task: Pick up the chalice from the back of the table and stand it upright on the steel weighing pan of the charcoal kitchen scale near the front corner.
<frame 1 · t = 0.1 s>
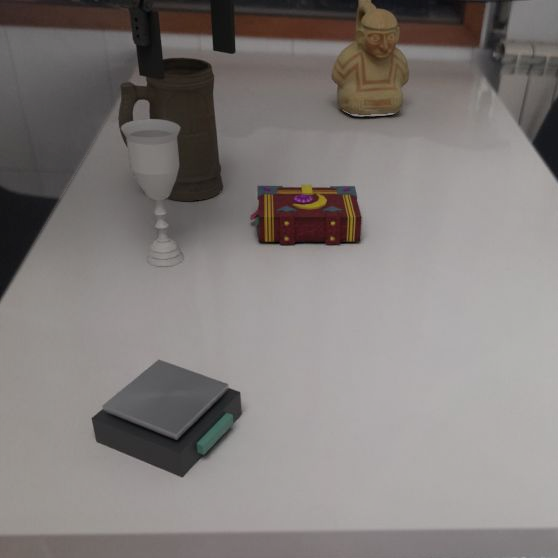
hand: (190, 63, 81), 27 cm above the table, tool pointing down, fingers open, 13 cm apart
scale: (171, 427, 71), on the table
decorative book: (304, 229, 109), on the table
chalice: (165, 258, 99), on the table
scale pan: (167, 397, 69), point 4 cm above the table, slide at 0.0 cm
beer stein: (177, 193, 117), on the table
ceramic vessel: (368, 111, 158), on the table
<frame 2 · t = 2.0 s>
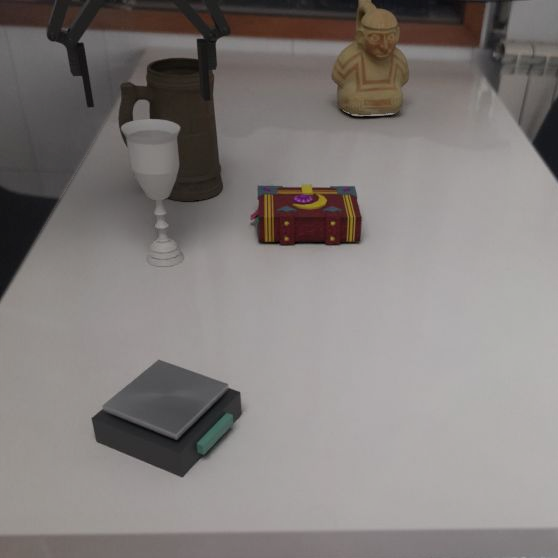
hand: (149, 100, 87), 21 cm above the table, tool pointing down, fingers open, 13 cm apart
nothing on the table moved.
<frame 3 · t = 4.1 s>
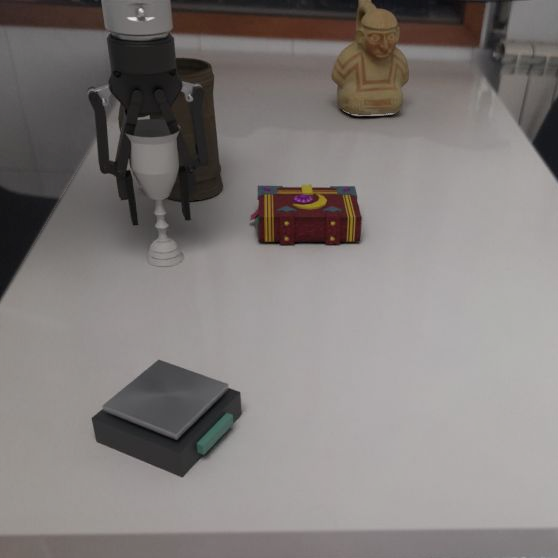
hand: (160, 218, 96), 6 cm above the table, tool pointing down, fingers closed on chalice, 6 cm apart
chalice: (165, 258, 99), on the table, touching gripper
everything else where it was.
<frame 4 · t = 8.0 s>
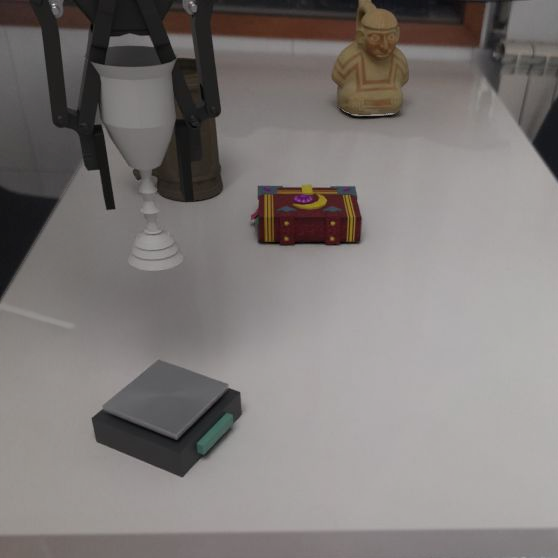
hand: (148, 199, 64), 21 cm above the table, tool pointing down, fingers closed on chalice, 6 cm apart
chalice: (156, 259, 67), point 15 cm above the table, touching gripper
everything else where it was.
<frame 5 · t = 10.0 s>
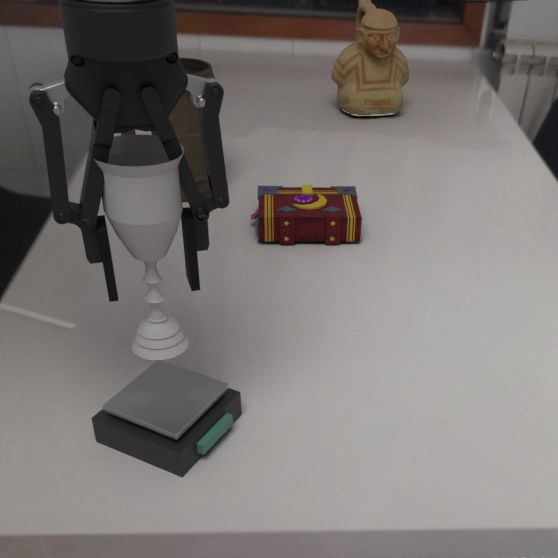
hand: (153, 287, 62), 16 cm above the table, tool pointing down, fingers closed on chalice, 6 cm apart
chalice: (160, 345, 65), point 10 cm above the table, touching gripper
everything else where it was.
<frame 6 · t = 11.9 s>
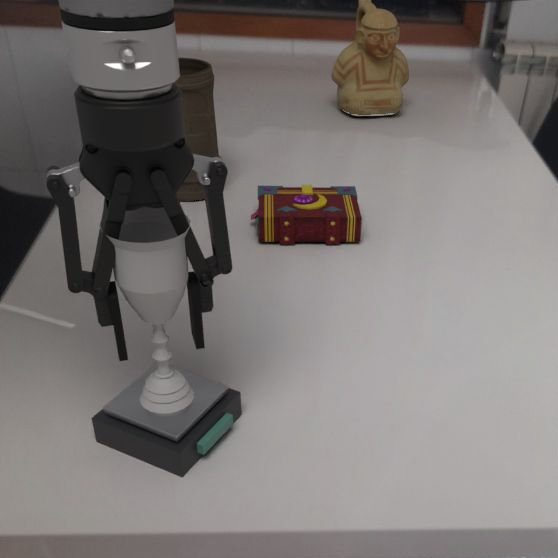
hand: (160, 345, 65), 10 cm above the table, tool pointing down, fingers closed on chalice, 6 cm apart
chalice: (167, 397, 69), point 4 cm above the table, touching gripper, scale pan
scale pan: (167, 399, 69), point 4 cm above the table, slide at -0.2 cm, touching chalice
everything else where it was.
when the fingers open (10 cm above the table, at t = 12.0 s): chalice stays where it is, resting on scale pan.
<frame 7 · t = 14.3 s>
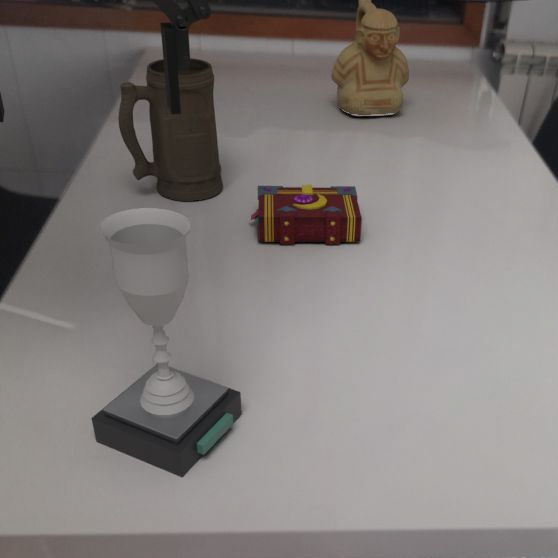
hand: (89, 113, 59), 29 cm above the table, tool pointing down, fingers open, 13 cm apart
chalice: (167, 399, 69), point 4 cm above the table, touching scale pan
everything else where it was.
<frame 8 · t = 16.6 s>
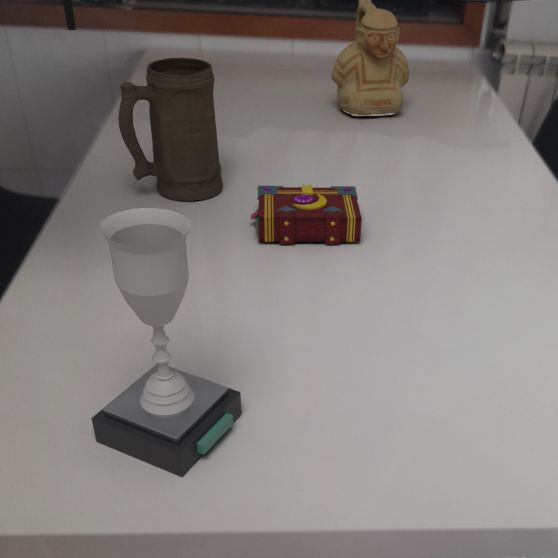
nothing on the table moved.
at the end: chalice 0.0 cm off-centre on the scale, point 3.6 cm above the scale's base; chalice tilted 0°; the gripper is holding nothing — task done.
